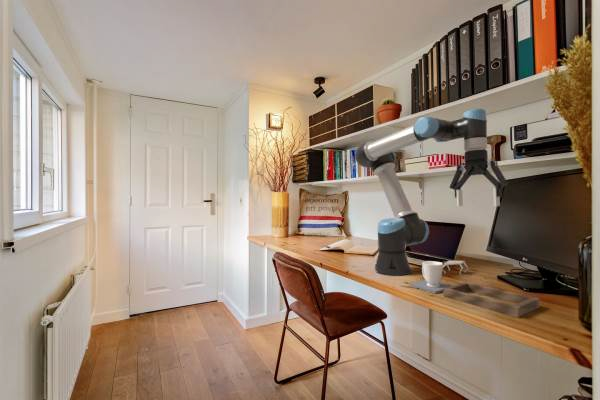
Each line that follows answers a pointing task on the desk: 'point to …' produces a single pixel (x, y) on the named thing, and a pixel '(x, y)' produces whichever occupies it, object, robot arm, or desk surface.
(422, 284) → the grey mat
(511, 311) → the tray
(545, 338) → the desk surface
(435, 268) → the cup
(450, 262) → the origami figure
